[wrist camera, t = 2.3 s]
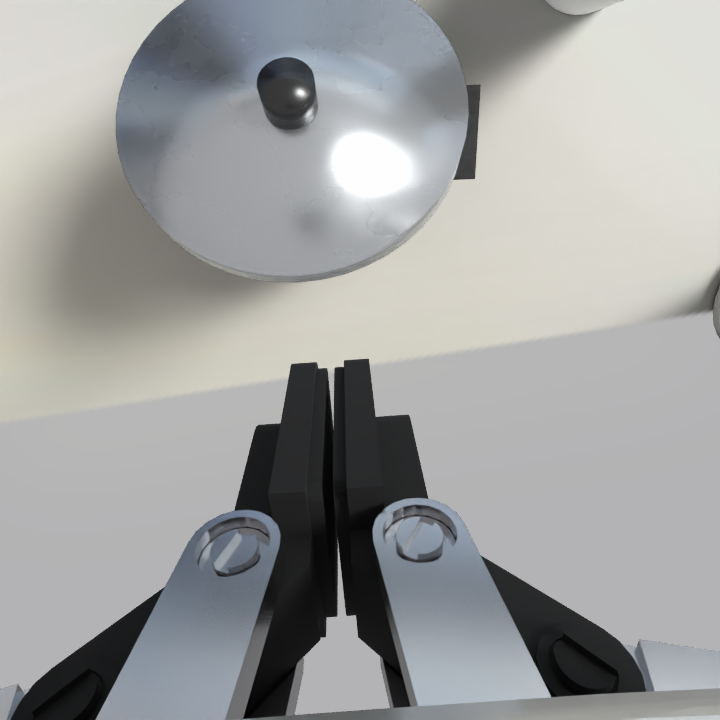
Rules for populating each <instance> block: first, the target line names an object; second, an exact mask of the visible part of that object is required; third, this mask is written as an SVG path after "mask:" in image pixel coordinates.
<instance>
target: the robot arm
mask: <svg viewBox="0 0 720 720" xmlns="http://www.w3.org/2000/svg"><path fill="white" fill-rule="evenodd" d="M713 321H714V326H715V329H716V332H717V335H718V336H719V338H720V286H719V289H718V292H717V295H716V298H715V302H714V308H713ZM337 543H338V544H339V552H340V562H341V571H342V580H343V590H344V599H345V608H346V615H347V616H351V615H356V618H357V629H358V637H359V638H360V639H361V640H362V641H363V642H365V643H366V644H367V645H368V646H369V647H370V648H371V649H373V650H374V651H375V652H376V653H377V654H378V655H380V661H381V670H382V674H383V678H384V683H385V687H386V692H387V696H388V701H389V705H390V708H387V709H373V710H359V711H347V712H332V713H319V714H304V715H294V714H295V709H296V704H297V700H298V695H299V690H300V685H301V680H302V675H303V664H304V659H303V656H305V654H307V653H308V652H309V651H310V650H311V649H312V648H313V647H314V645H316V643H318V642H319V641H320V637H326V617H336V616H337V585H338V580H337V579H338V578H337V577H338V567H337V566H338V564H337V563H338V562H337V561H338V551H337V550H338V544H337ZM0 720H720V651H714V650H707V649H700V648H694V647H688V646H680V645H674V644H667V643H661V642H654V641H648V640H641V639H640V640H639V642H638V645H637V647H635V646H629V645H623V644H621V643H620V641H618V640H617V639H616V638H614V637H613V636H612V635H610V634H609V633H608V632H606V631H605V630H604V629H602V628H601V627H599V626H597V625H596V624H594V623H592V622H591V621H589V620H587V619H586V618H584V617H582V616H581V615H579V614H577V613H576V612H574V611H572V610H571V609H569V608H567V607H566V606H564V605H562V604H561V603H559V602H557V601H556V600H554V599H552V598H550V597H549V596H547V595H545V594H544V593H542V592H541V591H539V590H537V589H535V588H534V587H532V586H531V585H529V584H527V583H526V582H524V581H522V580H521V579H519V578H517V577H516V576H514V575H512V574H511V573H509V572H507V571H506V570H504V569H502V568H501V567H499V566H497V565H496V564H494V563H492V562H491V561H489V560H487V559H485V558H484V557H482V556H481V555H480V554H479V551H478V549H477V547H476V545H475V543H474V541H473V539H472V537H471V535H470V533H469V531H468V529H467V527H466V525H465V523H464V522H463V521H462V519H461V518H460V516H459V515H458V514H457V513H456V512H455V511H453V510H452V509H451V508H449V507H448V506H447V505H445V504H442V503H440V502H438V501H435V500H431V499H428V496H427V491H426V487H425V482H424V478H423V473H422V469H421V465H420V460H419V456H418V451H417V447H416V442H415V438H414V434H413V429H412V425H411V420H410V417H409V415H397V416H384V417H375V409H374V400H373V391H372V383H371V374H370V365H369V359H359V360H344V367H337V368H335V374H334V430H333V421H332V410H331V400H330V390H329V381H328V371H327V368H322V369H318V365H317V362H314V363H299V364H292V365H291V369H290V374H289V380H288V386H287V391H286V397H285V403H284V408H283V413H282V419H281V423H280V424H266V425H258V426H257V427H256V429H255V432H254V436H253V440H252V443H251V448H250V451H249V456H248V459H247V463H246V467H245V471H244V475H243V479H242V483H241V488H240V491H239V495H238V499H237V502H236V506H235V510H234V511H232V512H228V513H225V514H222V515H219V516H217V517H216V518H214V519H212V520H210V521H208V522H207V523H205V524H204V525H203V526H202V527H201V528H200V529H199V530H197V531H196V533H195V534H194V535H193V537H192V538H191V540H190V541H189V542H188V544H187V546H186V548H185V550H184V552H183V553H182V555H181V558H180V559H179V561H178V563H177V565H176V567H175V569H174V571H173V573H172V574H171V576H170V578H169V580H168V582H167V584H166V586H165V587H164V588H163V589H161V590H160V591H159V592H157V593H156V594H154V595H153V596H152V597H150V598H149V599H147V600H146V601H145V602H143V603H142V604H141V605H139V606H138V607H136V608H135V609H134V610H132V611H131V612H129V613H128V614H127V615H125V616H124V617H123V618H121V619H120V620H118V621H117V622H116V623H114V624H113V625H111V626H110V627H109V628H108V629H106V630H104V631H103V632H102V633H100V634H99V635H98V636H96V637H95V638H94V639H92V640H91V641H90V642H88V643H86V644H85V645H84V646H82V647H81V648H80V649H78V650H77V651H75V652H74V653H73V654H71V655H70V656H68V657H67V658H66V659H64V660H63V661H62V662H60V663H59V664H57V665H56V666H55V667H53V668H52V669H51V670H50V671H49V672H47V673H46V674H45V675H44V676H43V677H41V679H39V680H38V681H37V682H36V683H35V684H34V685H33V686H32V687H31V689H28V690H24V691H22V689H21V688H20V686H19V685H18V684H16V685H13V686H10V687H6V688H3V689H0Z"/></svg>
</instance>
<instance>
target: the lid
mask: <svg viewBox="0 0 720 720" xmlns="http://www.w3.org/2000/svg"><path fill="white" fill-rule="evenodd" d="M468 117H469V114H468V94H467V88H466V82H465V77H464V74H463V71H462V68H461V65H460V62H459V59H458V57H457V55H456V53H455V51H454V49H453V47H452V45H451V43H450V41H449V40H448V38H447V37H446V36H445V34H444V33H443V31H442V30H441V29H440V27H439V26H438V24H437V23H436V22H435V21H434V20H433V19H432V18H431V17H430V16H429V15H428V14H427V13H426V12H425V10H423V9H422V8H421V7H420V6H419V5H417V4H416V3H415V2H414V1H412V0H185V1H184V2H183V3H181V4H180V5H179V6H177V7H176V8H175V9H173V10H172V11H171V12H170V13H169V14H168V15H167V16H166V17H165V18H164V19H163V20H162V21H161V22H159V23H158V24H157V26H156V27H155V28H154V29H153V30H152V32H151V33H150V34H149V35H148V36H147V38H146V39H145V40H144V42H143V43H142V45H141V46H140V48H139V49H138V51H137V53H136V54H135V56H134V57H133V59H132V62H131V64H130V66H129V68H128V70H127V72H126V75H125V77H124V80H123V84H122V87H121V90H120V93H119V98H118V105H117V111H116V140H117V146H118V153H119V157H120V161H121V164H122V167H123V170H124V173H125V176H126V178H127V180H128V182H129V184H130V186H131V188H132V190H133V192H134V194H135V195H136V197H137V198H138V200H139V201H140V203H141V204H142V206H143V207H144V208H145V210H146V211H147V212H148V213H149V215H150V216H151V217H152V218H153V219H154V220H155V221H156V223H157V224H158V225H159V226H160V227H161V228H162V229H163V230H164V231H165V232H166V233H167V234H168V235H169V236H170V238H171V239H172V240H174V241H175V242H176V243H177V244H179V245H180V246H181V247H182V248H184V249H185V250H186V251H187V252H189V253H190V254H192V255H193V256H195V257H197V258H199V259H200V260H202V261H204V262H205V263H207V264H209V265H211V266H214V267H216V268H219V269H221V270H223V271H226V272H228V273H231V274H235V275H239V276H242V277H246V278H250V279H256V280H263V281H270V282H305V281H315V280H322V279H326V278H331V277H335V276H339V275H343V274H346V273H349V272H352V271H354V270H357V269H360V268H362V267H365V266H367V265H369V264H371V263H373V262H375V261H377V260H379V259H381V258H383V257H385V256H386V255H388V254H389V253H391V252H392V251H394V250H395V249H397V248H398V247H399V246H401V245H402V244H404V243H405V242H406V241H407V240H409V239H410V238H411V237H412V236H413V235H414V234H415V233H416V232H417V231H418V230H420V229H421V228H422V227H423V225H424V224H425V223H426V222H427V221H428V220H429V218H430V217H431V216H432V215H433V214H434V212H435V211H436V210H437V208H438V207H439V205H440V203H441V202H442V200H443V199H444V197H445V196H446V194H447V192H448V190H449V188H450V185H451V183H452V181H453V179H454V176H455V174H456V171H457V167H458V164H459V160H460V157H461V153H462V150H463V146H464V143H465V139H466V133H467V125H468Z"/></svg>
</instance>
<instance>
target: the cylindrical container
mask: <svg viewBox="0 0 720 720" xmlns="http://www.w3.org/2000/svg"><path fill="white" fill-rule="evenodd" d="M545 1H546V2H547V3H548V4H549V5H551V6H552V7H553V8H554V9H556V10H558V11H560V12H563V13H565V14H571V15H583V14H588V13H591V12H595V11H597V10H600V9H603V8H605V7H608V6H610V5H613V4H615V3H618V2H621V1H623V0H545Z"/></svg>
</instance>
